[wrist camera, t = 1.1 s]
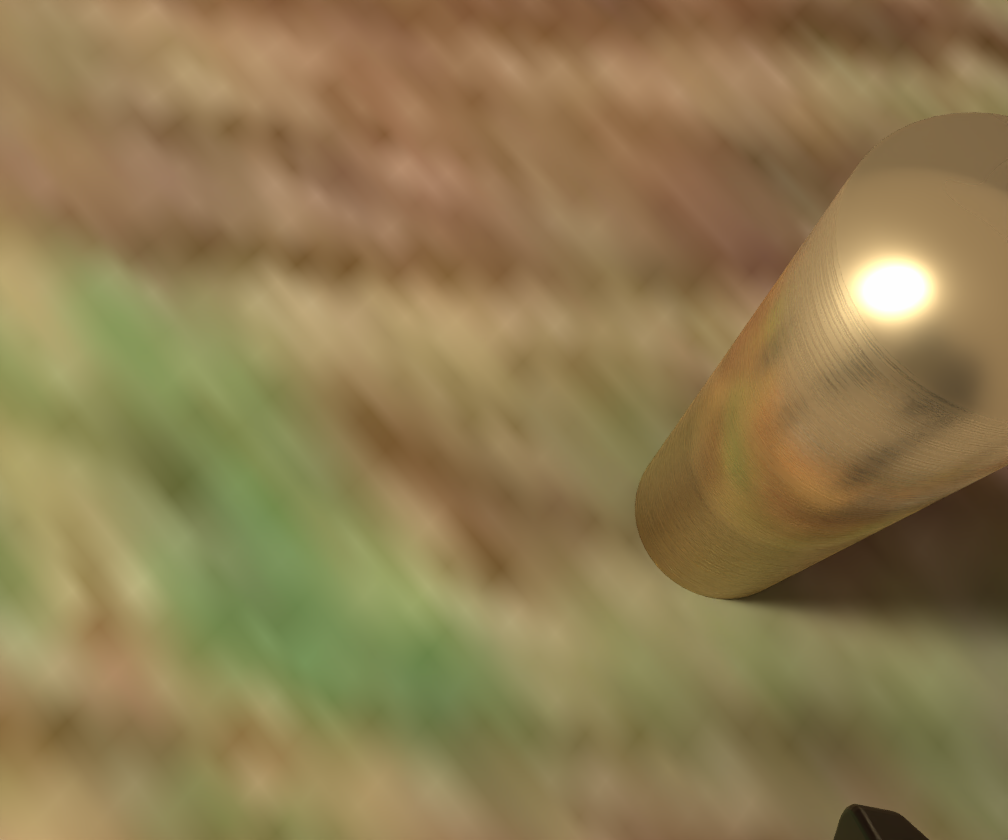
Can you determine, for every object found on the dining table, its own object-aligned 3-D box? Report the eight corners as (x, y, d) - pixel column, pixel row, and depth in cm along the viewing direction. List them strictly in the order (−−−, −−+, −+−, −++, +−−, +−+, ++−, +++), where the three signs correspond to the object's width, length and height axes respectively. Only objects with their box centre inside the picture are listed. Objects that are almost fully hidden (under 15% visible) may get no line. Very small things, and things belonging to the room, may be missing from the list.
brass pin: (803, 608, 23) (1213, 443, 11) (630, 588, 23) (842, 399, 10) (801, 443, 24) (1157, 134, 12) (639, 425, 24) (833, 93, 12)
